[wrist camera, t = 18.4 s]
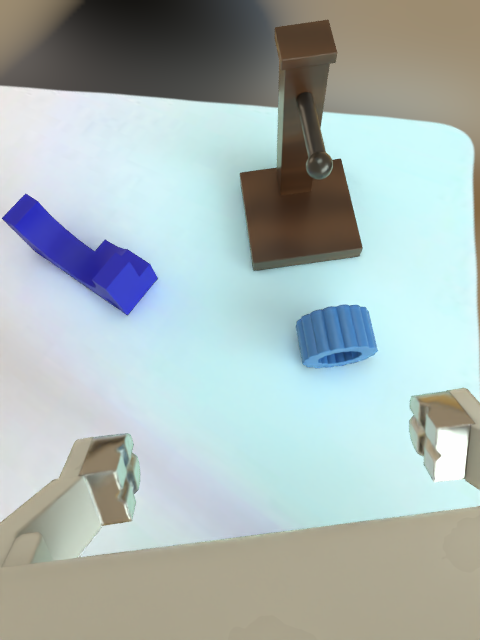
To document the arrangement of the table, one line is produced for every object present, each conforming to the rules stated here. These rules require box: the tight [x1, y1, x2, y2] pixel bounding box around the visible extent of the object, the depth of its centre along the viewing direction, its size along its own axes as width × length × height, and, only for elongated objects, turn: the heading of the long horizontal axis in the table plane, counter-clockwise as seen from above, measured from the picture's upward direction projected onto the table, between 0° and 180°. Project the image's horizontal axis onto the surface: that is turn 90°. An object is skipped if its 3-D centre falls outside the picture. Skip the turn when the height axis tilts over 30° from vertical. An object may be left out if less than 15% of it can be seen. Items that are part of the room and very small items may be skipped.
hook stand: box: [240, 20, 362, 271], centre depth 37 cm, size 10×10×17 cm
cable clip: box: [2, 194, 157, 315], centre depth 41 cm, size 12×4×6 cm, turn 55°
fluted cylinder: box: [296, 305, 378, 368], centre depth 37 cm, size 3×6×6 cm, turn 97°
